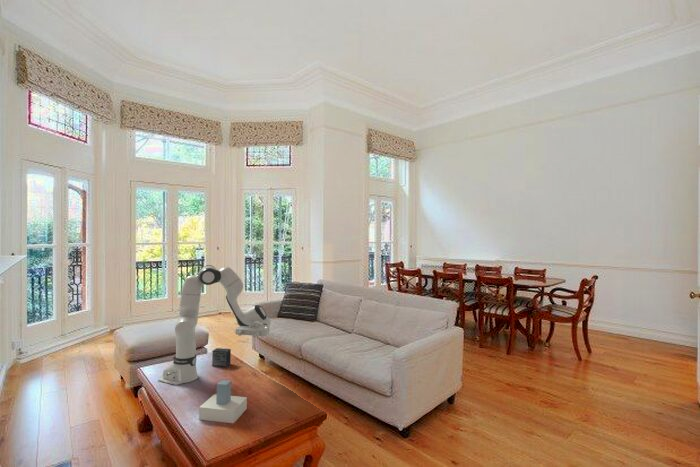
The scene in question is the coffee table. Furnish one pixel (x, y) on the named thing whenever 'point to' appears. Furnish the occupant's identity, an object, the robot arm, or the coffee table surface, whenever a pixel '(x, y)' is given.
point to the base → (223, 409)
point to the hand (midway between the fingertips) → (246, 334)
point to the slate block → (223, 392)
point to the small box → (221, 357)
